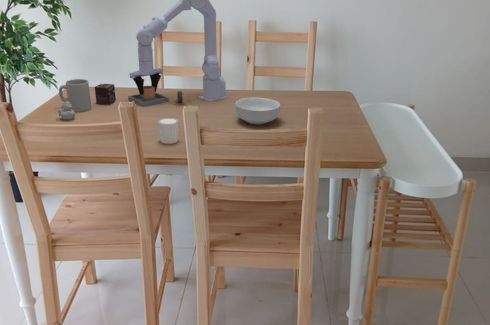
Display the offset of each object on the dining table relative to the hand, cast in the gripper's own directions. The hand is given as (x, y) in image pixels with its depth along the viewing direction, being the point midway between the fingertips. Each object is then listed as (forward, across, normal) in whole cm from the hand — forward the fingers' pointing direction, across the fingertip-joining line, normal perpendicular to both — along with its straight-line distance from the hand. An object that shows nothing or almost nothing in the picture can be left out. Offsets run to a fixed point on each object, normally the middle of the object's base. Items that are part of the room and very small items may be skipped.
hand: (147, 93), depth 197 cm
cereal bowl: (+4, -19, +46) cm, 50 cm away
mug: (+4, +27, -10) cm, 29 cm away
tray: (+4, 0, 0) cm, 4 cm away
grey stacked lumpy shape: (+4, +35, 0) cm, 35 cm away
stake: (+4, -9, +10) cm, 14 cm away
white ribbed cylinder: (+4, +18, +42) cm, 46 cm away
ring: (+1, 0, -1) cm, 2 cm away
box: (+4, +14, -10) cm, 18 cm away
